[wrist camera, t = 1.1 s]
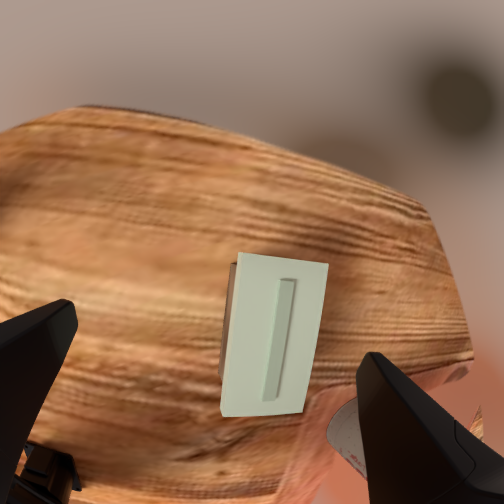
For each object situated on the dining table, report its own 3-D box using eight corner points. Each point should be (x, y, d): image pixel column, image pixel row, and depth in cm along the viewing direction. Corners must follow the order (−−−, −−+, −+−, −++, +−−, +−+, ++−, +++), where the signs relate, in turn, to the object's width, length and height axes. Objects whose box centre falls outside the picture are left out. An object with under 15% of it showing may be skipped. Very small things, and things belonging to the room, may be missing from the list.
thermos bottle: (331, 456, 29) (476, 582, 2) (320, 417, 28) (506, 565, 1) (380, 425, 31) (533, 518, 4) (375, 383, 30) (566, 480, 3)
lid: (296, 405, 21) (303, 413, 20) (219, 408, 20) (223, 419, 18) (320, 262, 22) (330, 263, 20) (238, 252, 20) (244, 252, 18)
